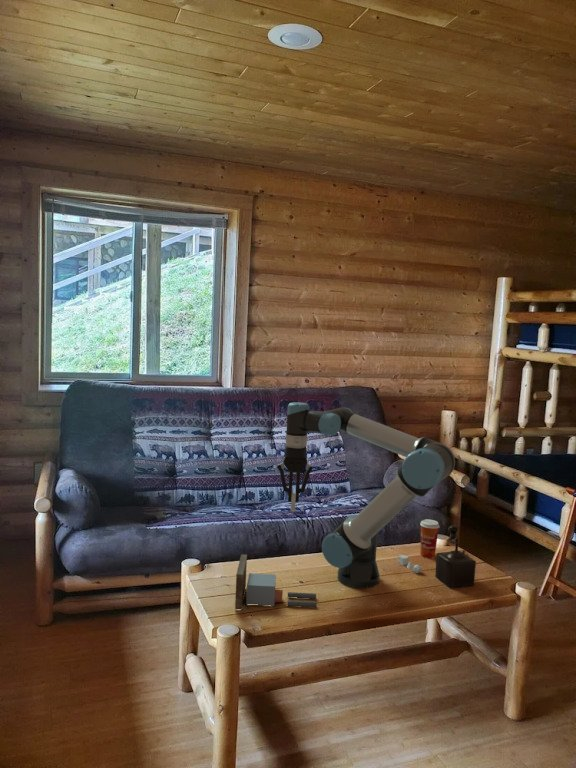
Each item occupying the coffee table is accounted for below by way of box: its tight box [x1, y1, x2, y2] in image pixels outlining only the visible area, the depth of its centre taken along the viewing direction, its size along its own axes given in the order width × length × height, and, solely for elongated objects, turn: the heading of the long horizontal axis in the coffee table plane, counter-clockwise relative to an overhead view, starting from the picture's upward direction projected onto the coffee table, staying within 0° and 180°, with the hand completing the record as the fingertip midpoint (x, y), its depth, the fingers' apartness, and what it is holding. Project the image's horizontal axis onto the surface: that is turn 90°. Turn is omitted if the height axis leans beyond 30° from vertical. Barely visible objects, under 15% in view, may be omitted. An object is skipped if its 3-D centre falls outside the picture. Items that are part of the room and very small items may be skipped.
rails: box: [286, 591, 318, 609], centre depth 194 cm, size 10×7×2 cm
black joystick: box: [434, 525, 477, 589], centre depth 218 cm, size 16×11×18 cm
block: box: [245, 572, 277, 607], centre depth 194 cm, size 9×9×7 cm
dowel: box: [274, 588, 284, 603], centre depth 194 cm, size 10×4×4 cm, turn 89°
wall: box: [234, 553, 248, 610], centre depth 194 cm, size 2×16×12 cm, turn 179°
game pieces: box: [397, 554, 423, 574], centre depth 226 cm, size 12×3×3 cm, turn 25°
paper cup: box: [419, 519, 441, 559], centre depth 239 cm, size 8×8×14 cm
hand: (292, 510), depth 211 cm, fingers closed
